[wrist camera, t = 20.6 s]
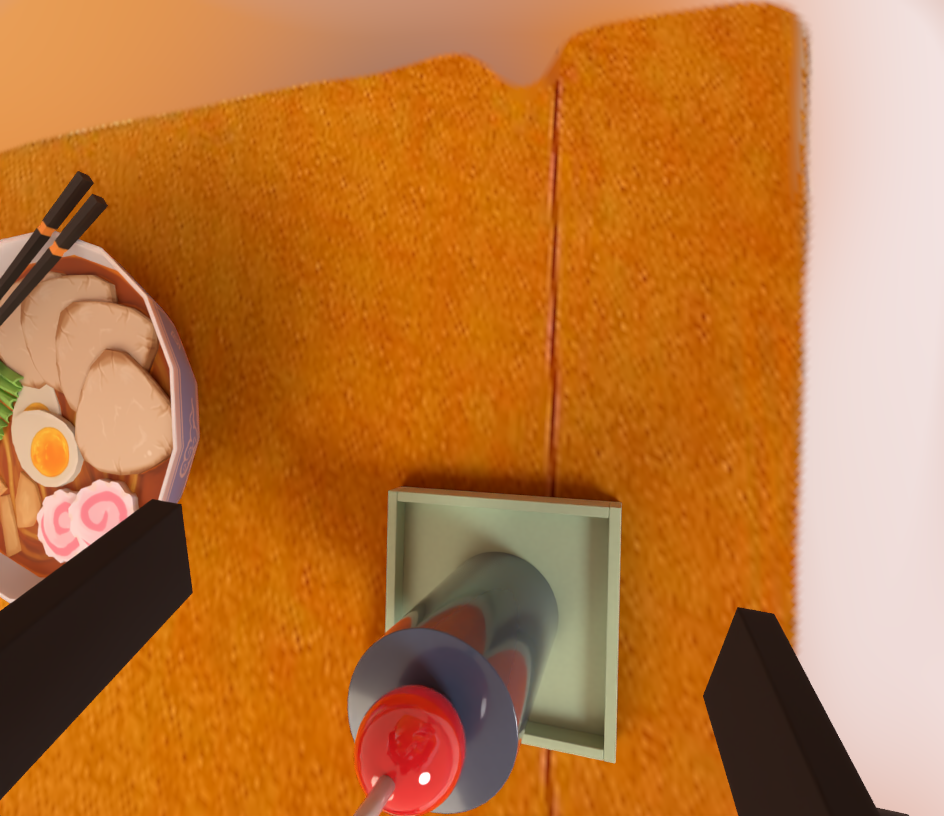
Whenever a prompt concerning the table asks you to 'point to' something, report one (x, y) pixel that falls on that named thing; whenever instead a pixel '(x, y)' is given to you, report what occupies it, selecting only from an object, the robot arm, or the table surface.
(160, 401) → the ramen bowl
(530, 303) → the table surface
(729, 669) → the robot arm
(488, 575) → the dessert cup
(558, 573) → the serving tray
